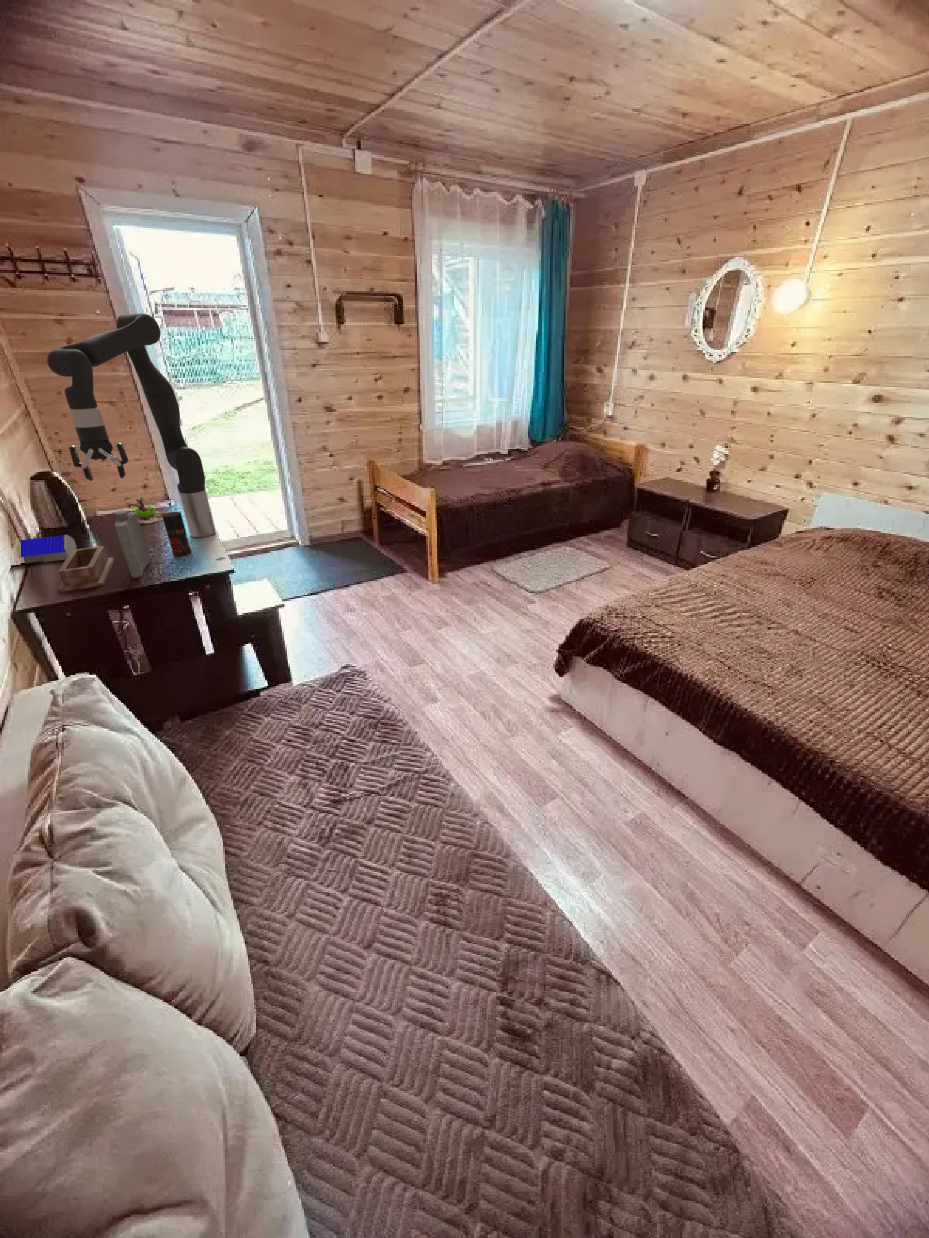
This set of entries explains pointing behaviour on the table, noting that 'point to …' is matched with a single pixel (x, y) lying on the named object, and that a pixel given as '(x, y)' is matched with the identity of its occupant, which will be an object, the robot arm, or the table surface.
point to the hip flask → (132, 542)
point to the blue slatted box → (47, 548)
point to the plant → (146, 513)
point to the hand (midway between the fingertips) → (106, 479)
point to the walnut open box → (85, 569)
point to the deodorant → (176, 534)
